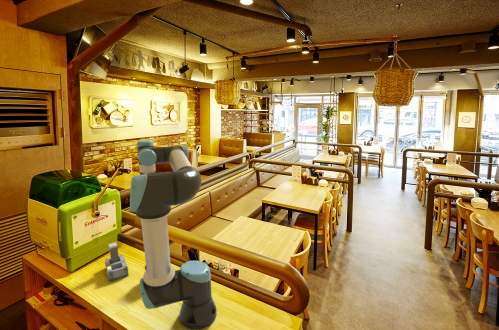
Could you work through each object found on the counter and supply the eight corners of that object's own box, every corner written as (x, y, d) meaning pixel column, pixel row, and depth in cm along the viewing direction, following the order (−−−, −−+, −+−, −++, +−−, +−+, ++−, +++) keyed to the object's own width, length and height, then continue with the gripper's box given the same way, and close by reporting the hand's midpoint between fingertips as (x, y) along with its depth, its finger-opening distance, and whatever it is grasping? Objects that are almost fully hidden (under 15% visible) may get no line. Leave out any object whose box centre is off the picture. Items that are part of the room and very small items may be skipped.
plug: (120, 267, 151) (117, 245, 148) (112, 269, 149) (109, 247, 146) (119, 264, 154) (116, 242, 151) (111, 266, 152) (108, 244, 149)
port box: (128, 275, 146) (127, 266, 144) (108, 281, 141) (107, 272, 140) (123, 262, 157) (122, 253, 156) (105, 267, 152) (104, 259, 151)
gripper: (170, 166, 150) (173, 204, 155) (119, 173, 137) (124, 214, 142) (175, 169, 144) (178, 208, 149) (121, 177, 131) (127, 220, 136)
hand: (151, 211), depth 146 cm, fingers open, 13 cm apart
